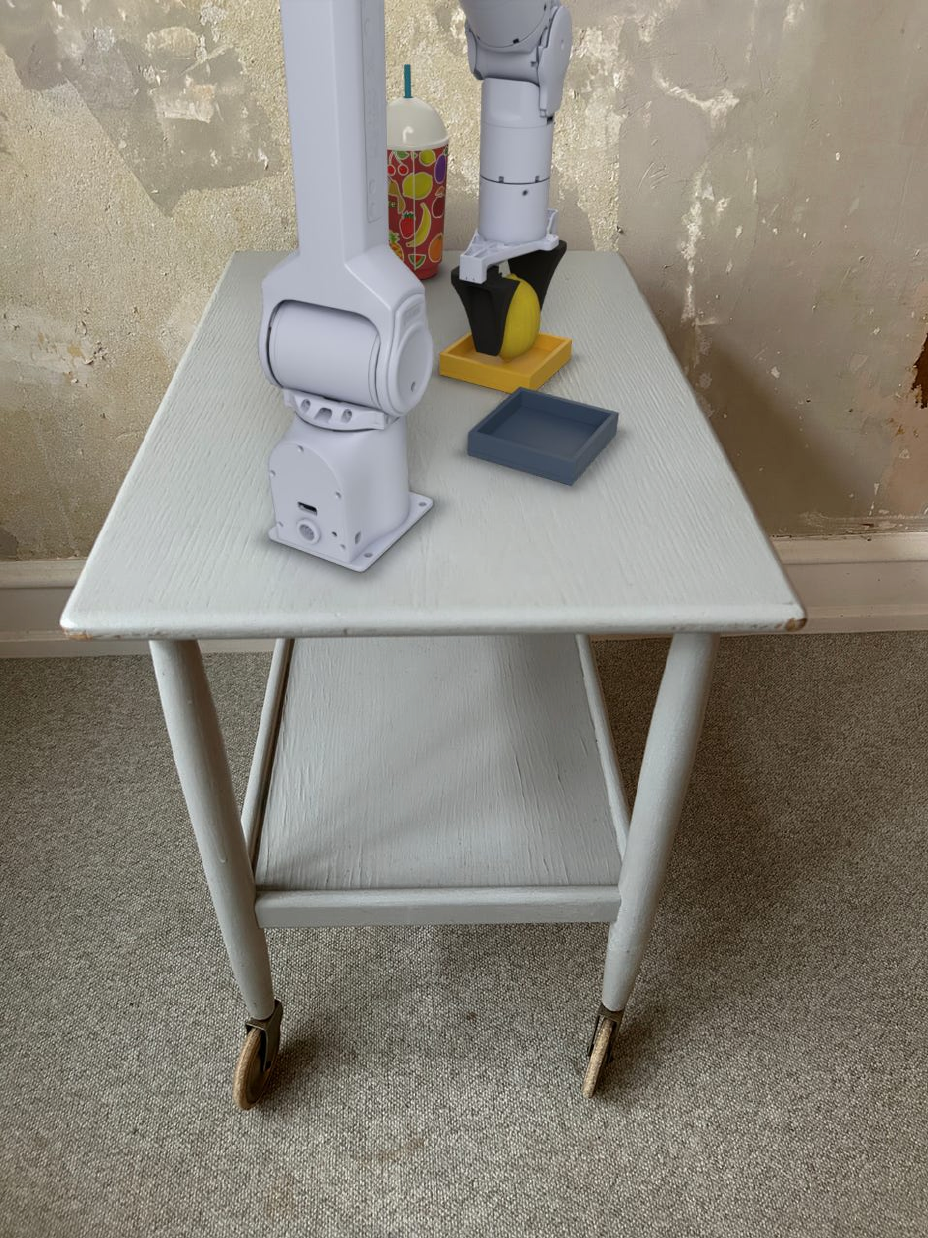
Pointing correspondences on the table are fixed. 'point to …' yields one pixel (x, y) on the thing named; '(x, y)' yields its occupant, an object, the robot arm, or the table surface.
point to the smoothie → (416, 181)
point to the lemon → (521, 322)
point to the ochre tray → (506, 363)
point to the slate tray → (543, 435)
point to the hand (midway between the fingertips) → (507, 336)
